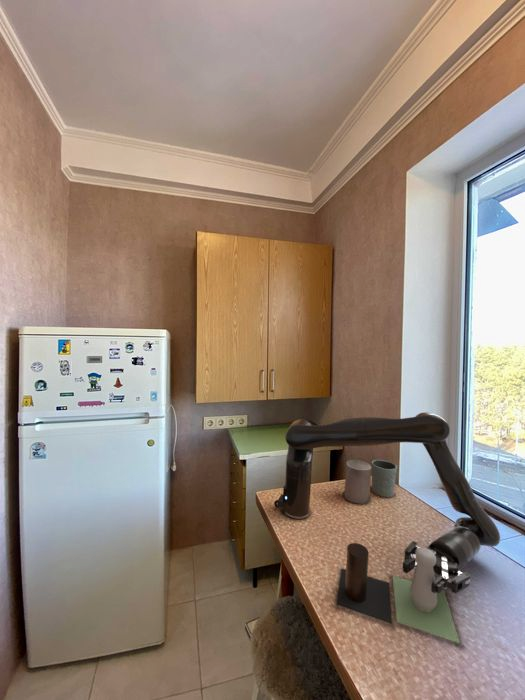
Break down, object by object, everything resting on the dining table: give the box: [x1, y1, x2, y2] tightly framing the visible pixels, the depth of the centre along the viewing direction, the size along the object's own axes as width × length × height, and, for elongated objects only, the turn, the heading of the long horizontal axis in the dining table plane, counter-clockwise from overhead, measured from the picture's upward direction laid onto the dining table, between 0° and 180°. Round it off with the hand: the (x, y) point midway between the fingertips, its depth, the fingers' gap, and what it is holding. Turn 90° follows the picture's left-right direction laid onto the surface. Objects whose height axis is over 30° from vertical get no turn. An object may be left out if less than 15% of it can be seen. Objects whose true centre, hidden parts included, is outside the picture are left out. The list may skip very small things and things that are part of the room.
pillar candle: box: [343, 459, 372, 505], centre depth 119 cm, size 10×10×15 cm
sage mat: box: [392, 575, 460, 646], centre depth 70 cm, size 12×14×1 cm
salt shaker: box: [410, 546, 438, 613], centre depth 70 cm, size 6×6×13 cm
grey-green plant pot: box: [370, 459, 398, 498], centre depth 125 cm, size 10×10×12 cm
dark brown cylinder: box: [345, 542, 370, 603], centre depth 72 cm, size 5×5×11 cm
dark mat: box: [336, 568, 393, 625], centre depth 73 cm, size 12×12×1 cm
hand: (418, 578), depth 68 cm, fingers open, 6 cm apart
